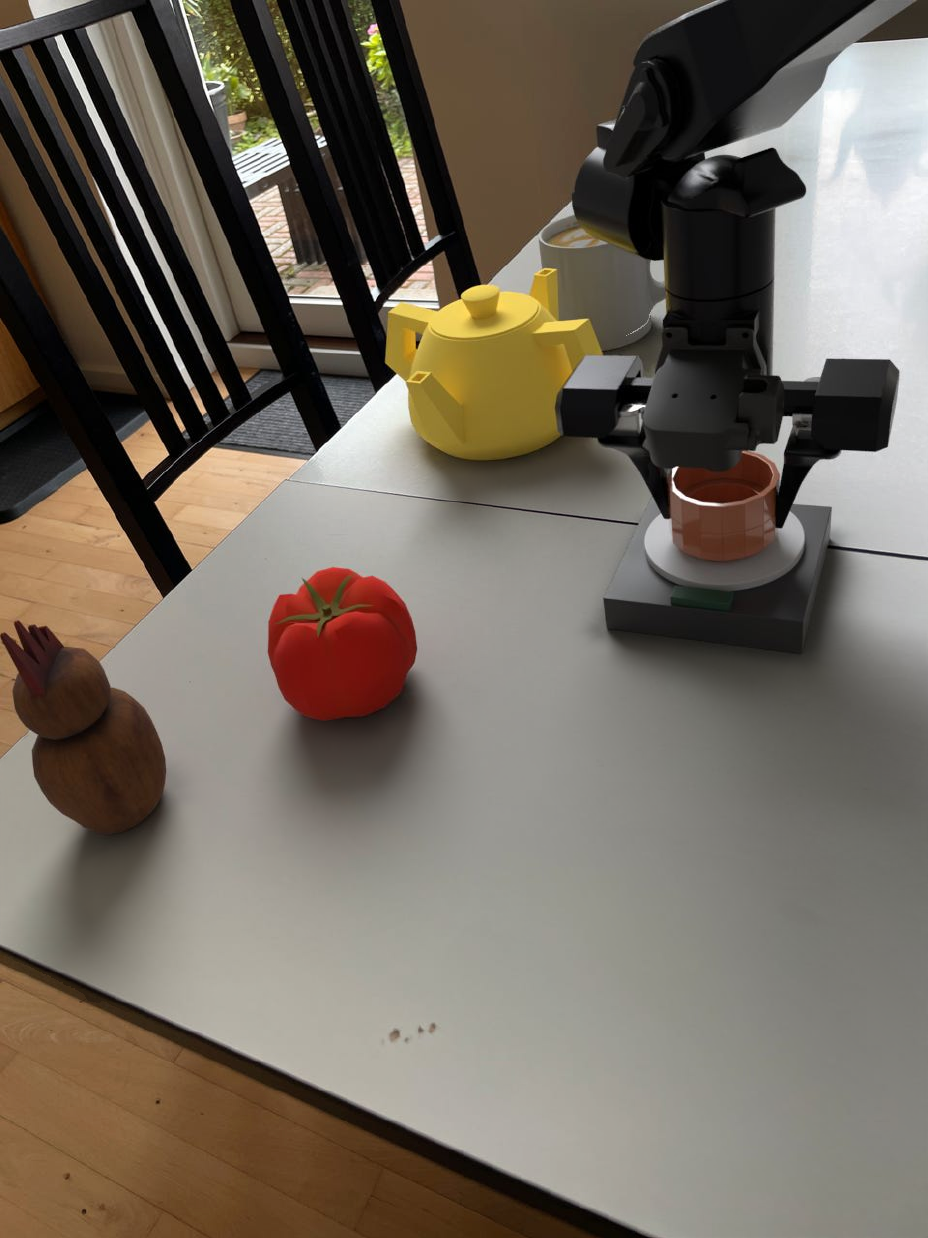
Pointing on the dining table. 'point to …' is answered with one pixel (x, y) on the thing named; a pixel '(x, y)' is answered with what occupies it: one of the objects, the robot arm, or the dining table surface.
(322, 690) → the tomato
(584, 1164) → the dining table surface
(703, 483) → the bowl
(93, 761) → the wooden figurine
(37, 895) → the dining table surface
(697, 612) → the scale
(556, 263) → the coffee mug
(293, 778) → the dining table surface
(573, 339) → the teapot
